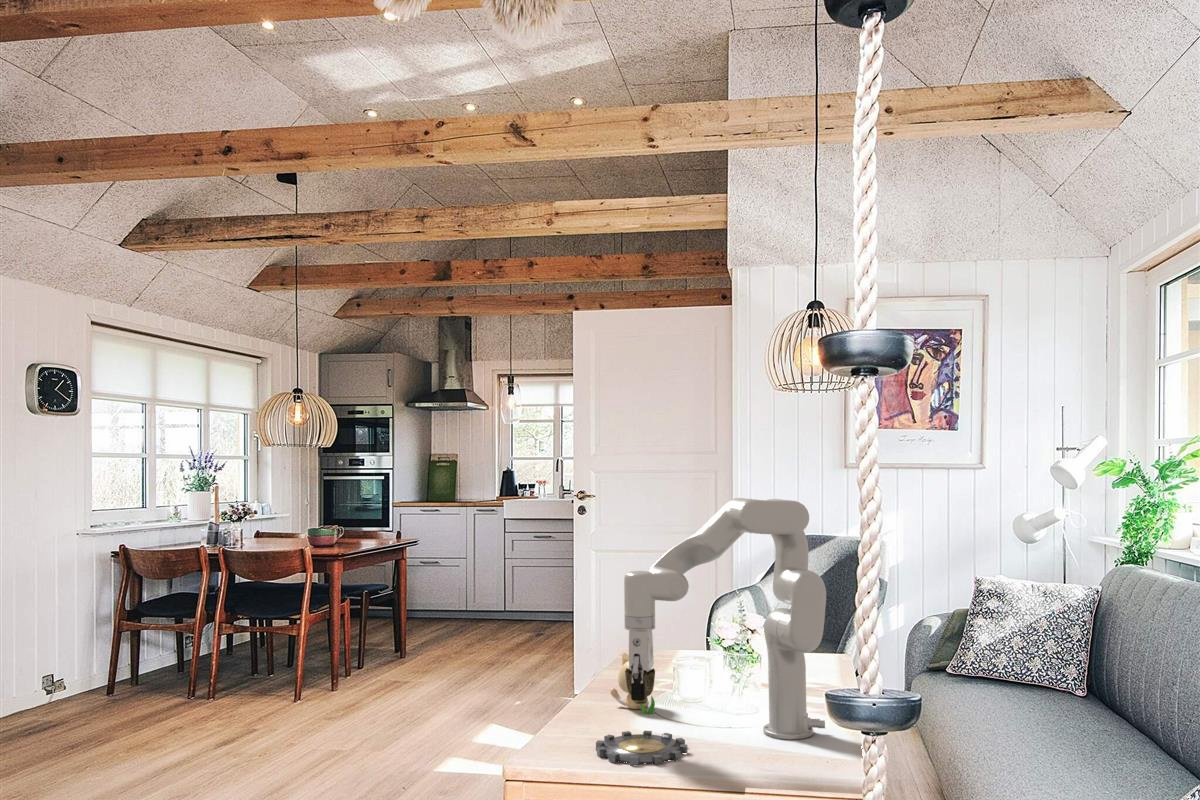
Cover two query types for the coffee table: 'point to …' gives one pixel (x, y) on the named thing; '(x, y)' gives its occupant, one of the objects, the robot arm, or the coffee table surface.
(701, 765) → the coffee table surface
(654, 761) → the gear
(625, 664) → the kitten
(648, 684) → the cup
